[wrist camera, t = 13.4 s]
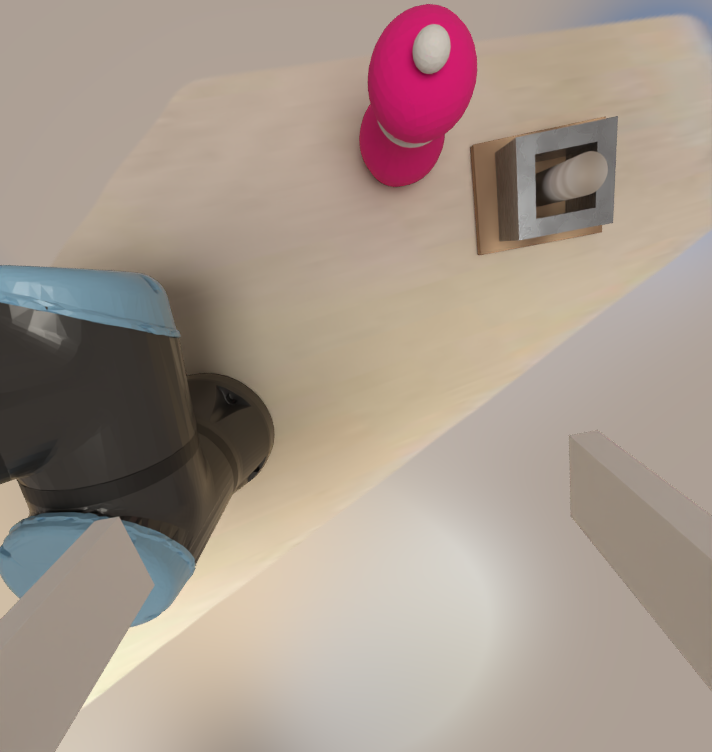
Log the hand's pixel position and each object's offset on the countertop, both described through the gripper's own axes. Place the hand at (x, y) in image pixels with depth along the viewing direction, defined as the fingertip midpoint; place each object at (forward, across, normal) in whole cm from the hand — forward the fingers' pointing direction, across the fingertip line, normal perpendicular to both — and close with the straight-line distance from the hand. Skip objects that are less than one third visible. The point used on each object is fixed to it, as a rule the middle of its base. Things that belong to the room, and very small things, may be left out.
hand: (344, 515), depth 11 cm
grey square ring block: (+31, +20, +9) cm, 38 cm away
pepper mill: (+32, +8, +15) cm, 36 cm away
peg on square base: (+32, +20, +9) cm, 39 cm away
